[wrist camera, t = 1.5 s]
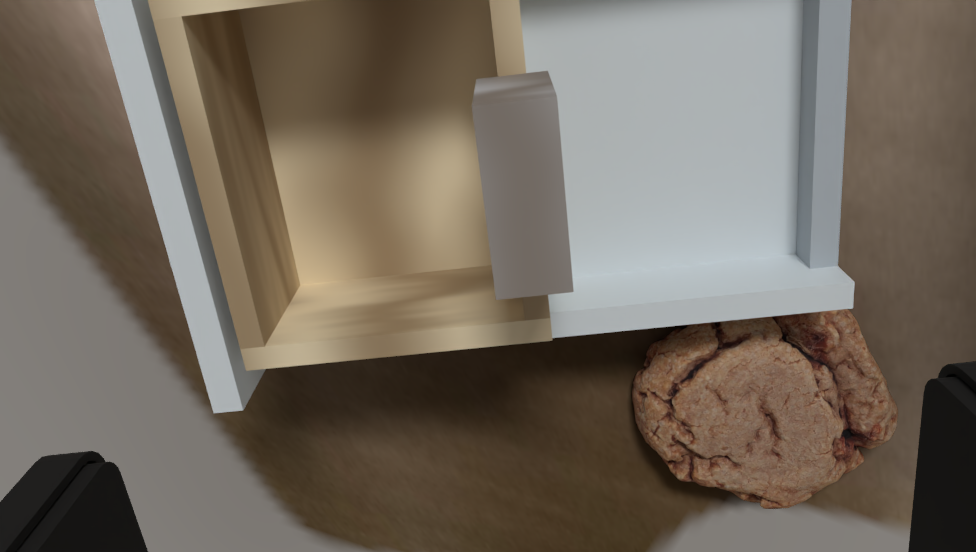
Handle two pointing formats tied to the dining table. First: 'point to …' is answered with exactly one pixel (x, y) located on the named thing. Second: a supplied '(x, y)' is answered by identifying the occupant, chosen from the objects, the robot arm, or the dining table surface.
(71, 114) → the dining table surface
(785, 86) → the bay
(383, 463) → the dining table surface
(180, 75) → the drawer
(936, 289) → the dining table surface
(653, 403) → the cookie
